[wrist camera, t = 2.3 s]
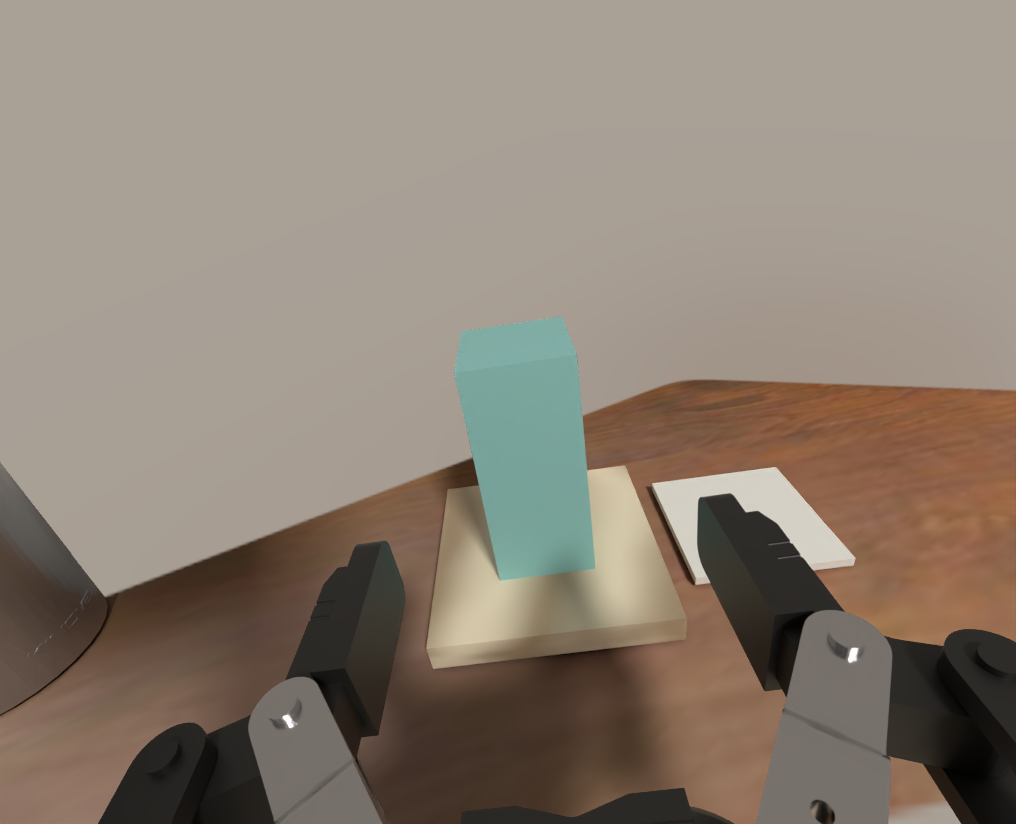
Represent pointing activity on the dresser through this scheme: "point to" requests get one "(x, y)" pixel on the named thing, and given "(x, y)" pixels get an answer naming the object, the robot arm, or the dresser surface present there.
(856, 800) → the robot arm
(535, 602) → the post stand
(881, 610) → the dresser surface
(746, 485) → the mat
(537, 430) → the tall teal pillar
